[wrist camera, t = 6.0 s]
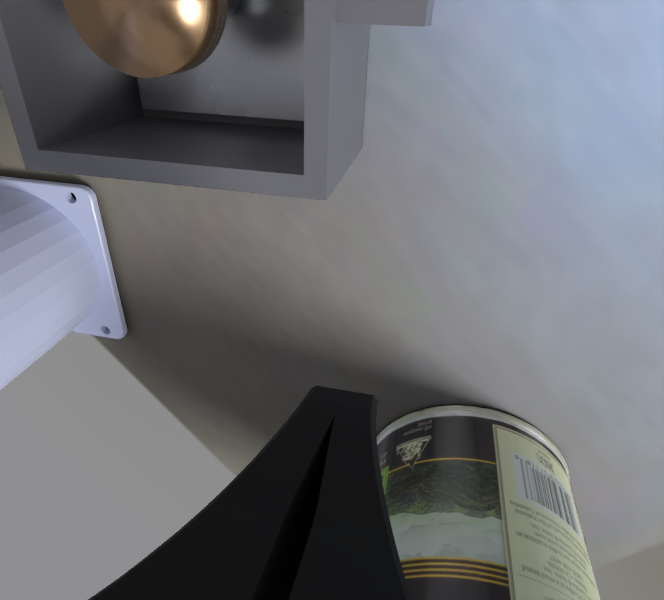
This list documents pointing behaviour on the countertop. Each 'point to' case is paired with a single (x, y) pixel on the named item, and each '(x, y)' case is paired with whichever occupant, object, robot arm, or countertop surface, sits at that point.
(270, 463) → the robot arm
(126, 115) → the grey open box
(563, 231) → the countertop surface
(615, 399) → the countertop surface
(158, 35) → the plunger
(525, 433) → the coffee can
